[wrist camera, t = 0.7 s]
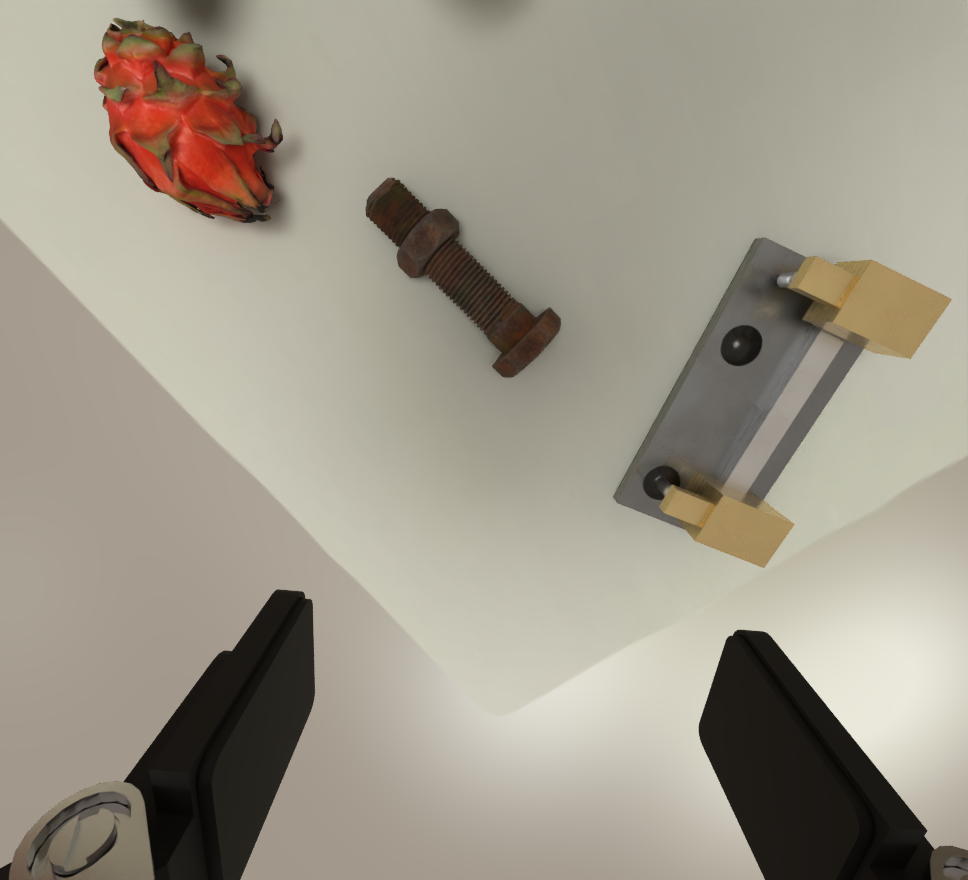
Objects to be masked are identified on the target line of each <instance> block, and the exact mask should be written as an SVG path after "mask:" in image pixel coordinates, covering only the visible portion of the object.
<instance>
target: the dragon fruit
mask: <svg viewBox="0 0 968 880" xmlns="http://www.w3.org/2000/svg"><path fill="white" fill-rule="evenodd" d="M113 21H114V22H116V24H118V25H119V26H121V28H122V29H121V30H120V28H118V27H117V26H115V25H114V24H110V26H109V28H108V29H107V32H106V33H105V34H104V37H103V40H102V49H103V52H104V54H105V57H104V58H103V59H99V60H98V61H97V63H96V65H95V68H94V76H95V80H96V82H98V83H99V84H100V85H101V86H100V87H99V90H100V91H101V92H102V93H103V94H104V95H105V96H104V99H103V107H104V109H106V110H107V111H108V115H109V122H110V130H109V136H110V141H111V144H112V146H113V147H114V149H115V150H116V151H117V152H118V153H119V154H120V155H122V156H123V157H124V158H125V159H126V160H127V162H128V163H129V164H130V165H131V166H132V167H133V168H134V169H135V171H136V172H137V174H138V175H139V176H140V178H142V179H143V181H144V183H145V184H146V185H147V186H148V187H149V188H151V189H152V190H154V191H155V192H161V193H164V194H167V195H169V196H170V197H172V198H173V199H175V200H176V201H178V202H179V203H181V204H183V205H185V206H187V207H188V208H190V209H191V210H193V211H195V212H196V211H197V213H198V212H200V213H201V215H204V216H206V217H208V218H212V219H214V218H215V217H213V216H211V215H210V214H213V215H219V216H225V217H228V218H231V219H234V220H236V221H239V222H242V223H251V222H255V221H257V220H259V221H267V220H269V219H271V217H270V216H268V215H253V213H252V212H251V211H249V210H245V209H246V207H247V206H249V207H252V208H255V209H257V210H258V211H259V212H260V213H264V212H265V211H264V210H265V209H266V208H267V207H268V205H269V203H270V201H271V197H272V194H273V190H274V186H272V185H271V184H269V183H268V180H267V178H268V177H267V176H266V173H265V172H264V171H263V169H262V167H261V166H260V170H261V174H263V176H262V175H261V174H259V173H258V172H257V169H256V167H255V162H254V158H253V154H254V153H255V152H256V151H258V150H259V149H260V150H262V151H264V152H268V153H272V152H274V150H272V149H274V148H276V147H277V145H278V144H280V143H281V141H282V140H283V135H282V130H281V127H280V124H279V122H278V121H277V119H275V120H274V123H273V124H272V129H271V134H270V136H268V137H267V138H263V137H262V136H260V135H259V134H256V117H255V116H254V115H253V114H251V113H249V112H247V111H246V110H245V109H244V108H242V107H240V106H235V105H234V101H235V100H236V99H237V98H238V97H239V95H240V93H241V90H242V86H241V84H240V82H239V81H238V80H237V79H236V74H235V70H234V67H233V64H232V61H231V60H230V59H229V58H228V57H226V56H224V55H217V56H216V57H217V58H218V59H219V60H221V61H222V62H223V63H225V64H226V66H227V71H223V72H215V71H213V70H211V69H209V68H207V67H205V57H204V53H203V49H202V46H201V45H199V44H195V43H194V41H193V39H192V36H191V34H190V32H188V33H184V34H183V35H182V36H181V37H180V39H177V38H176V37H175V36H174V35H173V33H172V32H169V31H167V30H166V29H165V28H163V27H153V26H150V25H147V24H145V23H144V22H143V21H144V20H143V21H133V22H131V21H125V20H122V19H119V18H114V19H113ZM283 198H284V197H283ZM278 201H280V200H278ZM197 208H199V209H200V210H198V209H197ZM200 213H199V214H200Z"/></svg>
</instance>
